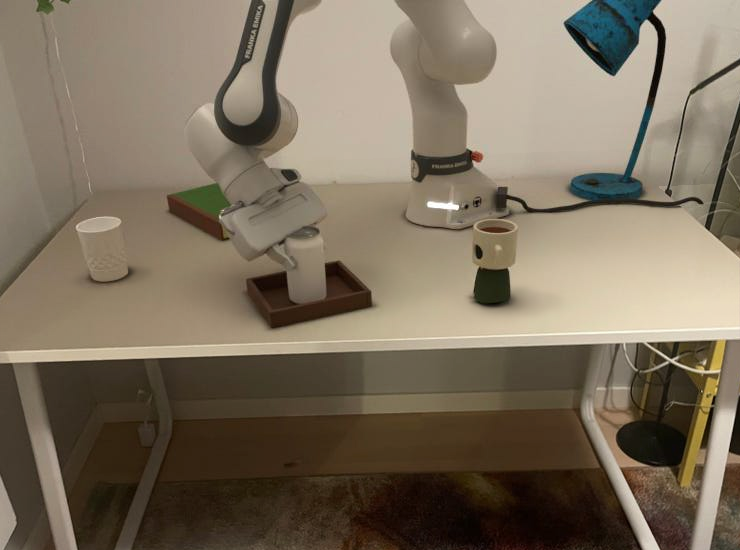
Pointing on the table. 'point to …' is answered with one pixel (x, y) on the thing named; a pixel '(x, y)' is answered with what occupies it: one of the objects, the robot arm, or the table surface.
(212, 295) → the table surface
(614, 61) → the desk lamp
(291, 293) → the can
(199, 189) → the hardcover book
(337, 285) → the tray
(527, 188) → the table surface
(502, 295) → the character mug
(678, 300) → the table surface
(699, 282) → the table surface
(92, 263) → the white cup
